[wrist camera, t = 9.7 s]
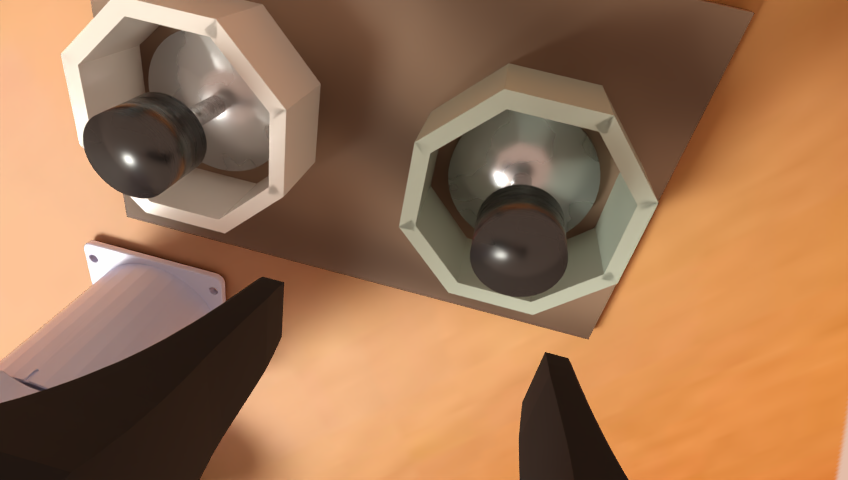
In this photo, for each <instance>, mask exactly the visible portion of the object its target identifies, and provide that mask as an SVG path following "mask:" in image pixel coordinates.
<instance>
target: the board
mask: <svg viewBox="0 0 848 480" xmlns="http://www.w3.org/2000/svg"><path fill="white" fill-rule="evenodd" d="M109 1H110V0H91V5H92V11H93V17H95V16H96V15H97V14H98V13H99V12H100V11H101V10H102V8H103V7H104V6H105V5H106V4H107V3H108V2H109ZM246 1H250V2H255V3H259V4H263V5H264V7H265V8H266V9H267V11H268V12H269V14H270V15H271V16H272V18H273V19H274V20H275V22H276V23H277V25H278V26H279V27H280V29H281V30H282V31H283V33H284V34H285V36H286V37H287V38H288V40H289V41H290V42H291V44H292V45H293V47H294V48H295V49H296V51H297V52H298V53H299V55H300V56H301V58H302V59H303V60H304V62H305V63H306V64H307V66H308V67H309V69H310V70H311V71H312V73H313V74H314V75H315V77H316V78H317V79H318V81H319V82H320V84H321V86H320V101H319V115H318V129H317V143H316V157H315V163H314V164H313V165H312V166H311V167H310V168H309V169H308V170H307V172H306V173H305V174H304V175H303V176H302V177H301V178H300V179H299V180H298V181H297V183H296V184H295V185H294V186H293V187H292V188H291V189H290V190H289V191H288V193H287V194H286V195H285V196H284V197H282V198H281V199H279V200H278V201H276V202H274V203H273V204H271V205H270V206H268V207H266V208H265V209H263V210H262V211H260V212H258V213H257V214H255V215H254V216H252V217H250V218H249V219H247V220H246V221H244V222H242V223H241V224H239V225H238V226H236V227H234V228H233V229H231V230H230V231H228V232H226V233H221V232H218V231H214V230H210V229H206V228H203V227H199V226H195V225H191V224H187V223H184V222H180V221H176V220H172V219H169V218H165V217H161V216H157V215H153V214H150V213H146V212H145V211H144V210H143V209H142V208H141V207H140V206H139V205H138V204H137V203H136V202H135V201H134V200H133V199H132V198H131V197H130V196H128V195H125V194H123V196H124V202H125V208H126V214H127V217H130V218H134V219H137V220H141V221H145V222H149V223H152V224H156V225H160V226H164V227H167V228H171V229H175V230H179V231H182V232H186V233H190V234H194V235H198V236H201V237H205V238H209V239H213V240H216V241H220V242H224V243H228V244H231V245H235V246H239V247H243V248H246V249H250V250H254V251H258V252H261V253H265V254H269V255H273V256H277V257H280V258H284V259H288V260H292V261H295V262H299V263H303V264H307V265H310V266H314V267H318V268H322V269H325V270H329V271H333V272H337V273H341V274H344V275H348V276H352V277H356V278H359V279H363V280H367V281H371V282H374V283H378V284H382V285H386V286H389V287H393V288H397V289H401V290H404V291H408V292H412V293H416V294H420V295H423V296H427V297H431V298H435V299H438V300H442V301H446V302H450V303H453V304H457V305H461V306H465V307H468V308H472V309H476V310H480V311H483V312H487V313H491V314H495V315H499V316H502V317H506V318H510V319H514V320H517V321H521V322H525V323H529V324H532V325H536V326H540V327H544V328H547V329H551V330H555V331H559V332H563V333H566V334H570V335H574V336H578V337H581V338H585V339H589V337H590V335H591V333H592V331H593V329H594V327H595V325H596V323H597V321H598V319H599V317H600V315H601V313H602V311H603V309H604V307H605V305H606V304H607V302H608V300H609V298H610V296H611V294H612V292H613V290H614V288H615V286H616V284H615V285H612V286H609V287H607V288H604V289H601V290H599V291H596V292H593V293H590V294H588V295H585V296H582V297H580V298H577V299H574V300H572V301H569V302H566V303H563V304H561V305H558V306H555V307H553V308H550V309H547V310H545V311H542V312H539V313H537V314H534V315H531V314H527V313H524V312H520V311H516V310H512V309H509V308H505V307H501V306H497V305H493V304H490V303H486V302H482V301H478V300H475V299H471V298H467V297H463V296H459V295H456V294H452V293H448V291H447V290H446V289H445V287H444V286H443V285H442V283H441V282H440V281H439V279H438V278H437V277H436V275H435V274H434V273H433V272H432V270H431V269H430V268H429V266H428V265H427V264H426V262H425V261H424V260H423V258H422V257H421V256H420V254H419V253H418V252H417V250H416V249H415V248H414V246H413V245H412V244H411V242H410V241H409V240H408V238H407V237H406V236H405V234H404V233H403V232H402V230H401V229H400V228H399V224H400V218H401V213H402V207H403V202H404V197H405V191H406V186H407V181H408V175H409V170H410V164H411V159H412V154H413V148H414V142H415V140H416V139H417V137H418V135H419V133H420V131H421V129H422V127H423V126H424V124H425V122H426V120H427V118H428V116H429V115H430V113H431V111H432V110H434V109H436V108H437V107H439V106H441V105H442V104H444V103H445V102H447V101H449V100H450V99H452V98H453V97H455V96H457V95H458V94H460V93H462V92H463V91H465V90H466V89H468V88H470V87H471V86H473V85H474V84H476V83H478V82H479V81H481V80H483V79H484V78H486V77H487V76H489V75H491V74H492V73H494V72H495V71H497V70H499V69H500V68H502V67H504V66H505V65H507V64H508V63H510V64H514V65H518V66H523V67H527V68H531V69H535V70H539V71H544V72H548V73H552V74H556V75H560V76H565V77H569V78H573V79H577V80H581V81H585V82H590V83H594V84H598V85H602V86H603V88H604V90H605V92H606V94H607V96H608V98H609V100H610V102H611V104H612V106H613V108H614V110H615V112H616V114H617V116H618V118H619V120H620V122H621V124H622V126H623V128H624V130H625V132H626V134H627V136H628V138H629V140H630V142H631V144H632V146H633V148H634V150H635V152H636V154H637V156H638V158H639V160H640V162H641V164H642V166H643V168H644V170H645V173H646V175H647V177H648V180H649V182H650V184H651V187H652V189H653V191H654V194H655V196H656V198H657V201H659V199H660V197H661V195H662V194H663V192H664V190H665V188H666V186H667V184H668V182H669V180H670V178H671V176H672V174H673V172H674V170H675V168H676V166H677V164H678V162H679V160H680V158H681V156H682V154H683V152H684V150H685V148H686V146H687V144H688V142H689V140H690V139H691V137H692V135H693V133H694V131H695V129H696V127H697V125H698V123H699V121H700V119H701V117H702V115H703V113H704V111H705V109H706V107H707V105H708V103H709V101H710V99H711V97H712V95H713V93H714V91H715V89H716V87H717V85H718V84H719V82H720V80H721V78H722V76H723V74H724V72H725V70H726V68H727V66H728V64H729V62H730V60H731V58H732V56H733V54H734V52H735V50H736V48H737V46H738V44H739V42H740V40H741V38H742V36H743V34H744V32H745V30H746V29H747V27H748V25H749V23H750V21H751V19H752V17H753V15H754V13H753V12H751V11H749V10H745V9H741V8H736V7H732V6H728V5H723V4H719V3H714V2H710V1H706V0H246ZM178 31H181V30H180V29H175V28H171V27H167V26H163V25H160V26H159V27H158V28H157V29H156V30H155V31H154V32H153V33H152V34H150V35H149V36H148V37H147V38H146V39H145V40H144V41H143V42H142V43H141V44H140V45H139V46H140V54H141V62H142V70H143V78H144V86H145V93H147V92H149V82H148V76H149V67H150V63H151V60H152V57H153V55H154V53H155V51H156V49H157V48H158V46H159V45H160V44H161V43H162V42H163V40H165V39H166V38H167V37H169V36H170V35H172V34H174V33H175V32H178ZM581 128H582V127H581ZM582 129H583V130H584V131H585V132H586V133H587V135H588V136H589V138H590V140H591V141H592V143H593V145H594V148H595V150H596V153H597V157H598V160H599V165H600V185H599V191H598V194H597V197H596V200H595V202H594V204H593V205H592V207H591V209H590V210H589V212H588V213H587V215H586V216H585V217H584V218H583V219H582V220H581V222H580V223H578V224H577V225H576V226H575V227H574V228H572V229H571V230H569V231H568V232H566V240H567V239H570V238H572V237H574V236H577V235H579V234H581V233H584V232H586V231H588V230H591V229H593V228H595V227H596V224H597V222H598V220H599V218H600V215H601V213H602V211H603V209H604V206H605V204H606V202H607V200H608V197H609V195H610V193H611V191H612V188H613V186H614V184H615V182H616V179H617V177H618V175H619V173H620V171H619V169H618V167H617V165H616V163H615V161H614V159H613V157H612V156H611V154H610V152H609V150H608V148H607V146H606V144H605V142H604V140H603V138H602V136H601V135H600V133H599V132H598V131H594V130H590V129H586V128H582ZM461 137H462V135H461V136H459V137H458V138H456V139H454V140H452V141H451V142H449V143H447V144H445V145H444V146H442V147H440V148H439V150H438V155H437V159H436V164H435V169H434V173H433V178H432V182H431V187H432V188H433V190H434V191H435V193H436V194H437V196H438V197H439V198H440V200H441V201H442V203H443V204H444V206H445V207H446V208H447V210H448V211H449V213H450V214H451V216H452V217H453V218H454V220H455V221H456V223H457V224H458V226H459V227H460V229H461V230H462V231H463V233H464V234H465V236H466V237H467V238H469V239H473V234H474V228H473V227H472V226H471V225H470V224H469V223H468V222H466V221H465V220H464V218H463V217H462V216H461V214H460V213H459V212H458V210H457V208H456V207H455V205H454V202H453V200H452V198H451V194H450V190H449V183H448V171H449V165H450V161H451V157H452V154H453V151H454V149H455V147H456V145H457V143H458V141H459V140H460V138H461ZM196 168H198V169H202V170H206V171H210V172H214V173H218V174H221V175H225V176H229V177H233V178H237V179H241V180H245V181H248V182H252V183H256V184H257V183H258V182H260V181H261V180H263V179H264V178H266V177H267V176H269V160H268V161H266V162H265V163H264V164H262V165H260V166H258V167H256V168H253V169H250V170H245V171H226V170H221V169H217V168H214V167H211V166H209V165H207V164H204V163H201V164H200V165H199V166H198V167H196Z"/></svg>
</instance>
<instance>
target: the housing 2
mask: <svg viewBox="0 0 848 480" xmlns="http://www.w3.org/2000/svg"><path fill="white" fill-rule="evenodd" d="M506 109H508V110H512V111H516V112H520V113H524V114H528V115H533V116H537V117H541V118H545V119H549V120H553V121H557V122H561V123H565V124H569V125H574V126H578V127H582V128H586V129H590V130H594V131H598V132H599V133H600V135H601V136H602V138H603V140H604V142H605V144H606V146H607V148H608V150H609V152H610V154H611V156H612V157H613V159H614V161H615V163H616V165H617V167H618V169H619V171H620V173H619V175H618V177H617V179H616V182H615V184H614V186H613V188H612V191H611V193H610V195H609V197H608V200H607V202H606V204H605V206H604V209H603V211H602V213H601V215H600V218H599V220H598V222H597V224H596V227H595V228H593V229H591V230H588V231H586V232H584V233H581V234H579V235H577V236H574V237H572V238H570V239H567V250H568V263H567V268H566V271H565V273H564V275H563V276H562V278H561V279H560V280H559V281H558V282H557V284H555V285H554V286H553V287H552V288H550V289H549V290H547V291H545V292H543V293H540V294H537V295H534V296H528V297H512V296H507V295H503V294H500V293H497V292H495V291H493V290H491V289H490V288H488V287H487V286H486V285H484V284H483V283H482V282H481V281H480V280H479V279H478V277H477V276H476V274H475V273H474V271H473V269H472V266H471V262H470V250H471V245H472V240H473V239H469V238H467V237H466V236H465V234H464V233H463V231H462V230H461V229H460V227H459V226H458V224H457V223H456V221H455V220H454V218H453V217H452V216H451V214H450V213H449V211H448V210H447V208H446V207H445V206H444V204H443V203H442V201H441V200H440V198H439V197H438V196H437V194H436V193H435V191H434V190H433V188H432V187H431V182H432V178H433V173H434V169H435V164H436V159H437V155H438V150H439V148H440V147H442V146H444V145H445V144H447V143H449V142H451V141H452V140H454V139H456V138H458V137H459V136H461V135H463V134H465V133H466V132H468V131H470V130H472V129H473V128H475V127H477V126H478V125H480V124H482V123H484V122H485V121H487V120H489V119H491V118H492V117H494V116H496V115H498V114H499V113H501V112H503V111H504V110H506ZM658 204H659V203H658V201H657V198H656V196H655V194H654V191H653V189H652V187H651V184H650V182H649V180H648V177H647V175H646V173H645V170H644V168H643V166H642V164H641V162H640V160H639V158H638V156H637V154H636V152H635V150H634V148H633V146H632V144H631V142H630V140H629V138H628V136H627V134H626V132H625V130H624V128H623V126H622V124H621V122H620V120H619V118H618V116H617V114H616V112H615V110H614V108H613V106H612V104H611V102H610V100H609V98H608V96H607V94H606V92H605V90H604V88H603V86H602V85H598V84H594V83H590V82H585V81H581V80H577V79H573V78H569V77H565V76H560V75H556V74H552V73H548V72H544V71H539V70H535V69H531V68H527V67H523V66H518V65H514V64H510V63H508V64H507V65H505V66H504V67H502V68H500V69H499V70H497V71H495V72H494V73H492V74H491V75H489V76H487V77H486V78H484V79H483V80H481V81H479V82H478V83H476V84H474V85H473V86H471V87H470V88H468V89H466V90H465V91H463V92H462V93H460V94H458V95H457V96H455V97H453V98H452V99H450V100H449V101H447V102H445V103H444V104H442V105H441V106H439V107H437V108H436V109H434V110H432V111H431V113H430V115H429V116H428V118H427V120H426V122H425V124H424V126H423V127H422V129H421V131H420V133H419V135H418V137H417V139H416V140H415V142H414V148H413V154H412V159H411V164H410V170H409V175H408V181H407V186H406V191H405V197H404V202H403V207H402V213H401V218H400V224H399V228H400V229H401V230H402V232H403V233H404V234H405V236H406V237H407V238H408V240H409V241H410V242H411V244H412V245H413V246H414V248H415V249H416V250H417V252H418V253H419V254H420V256H421V257H422V258H423V260H424V261H425V262H426V264H427V265H428V266H429V268H430V269H431V270H432V272H433V273H434V274H435V275H436V277H437V278H438V279H439V281H440V282H441V283H442V285H443V286H444V287H445V289H446V290H447V291H448V293H452V294H456V295H459V296H463V297H467V298H471V299H475V300H478V301H482V302H486V303H490V304H493V305H497V306H501V307H505V308H509V309H512V310H516V311H520V312H524V313H527V314H531V315H534V314H537V313H539V312H542V311H545V310H547V309H550V308H553V307H555V306H558V305H561V304H563V303H566V302H569V301H572V300H574V299H577V298H580V297H582V296H585V295H588V294H590V293H593V292H596V291H599V290H601V289H604V288H607V287H609V286H612V285H615V284H618V282H619V280H620V278H621V276H622V274H623V272H624V270H625V268H626V266H627V264H628V262H629V260H630V258H631V256H632V254H633V252H634V250H635V248H636V246H637V244H638V242H639V240H640V238H641V236H642V235H643V233H644V231H645V229H646V227H647V225H648V223H649V221H650V219H651V217H652V215H653V213H654V211H655V209H656V207H657V205H658Z"/></svg>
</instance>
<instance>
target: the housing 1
mask: <svg viewBox="0 0 848 480" xmlns="http://www.w3.org/2000/svg"><path fill="white" fill-rule="evenodd" d="M160 25H163V26H167V27H171V28H175V29H180V30H184V31H188V32H192V33H196V34H200V35H204V36H208V37H210V38H211V39H212V40H213V42H214V43H215V44H216V46H217V47H218V48H219V49H220V51H221V52H222V53H223V54H224V56H225V57H226V58H227V60H228V61H229V62H230V63H231V65H232V66H233V67H234V68H235V70H236V71H237V72H238V73H239V75H240V76H241V77H242V79H243V80H244V81H245V82H246V84H247V85H248V86H249V87H250V89H251V90H252V91H253V93H254V94H255V95H256V96H257V98H258V99H259V100H260V101H261V103H262V104H263V105H264V106H265V108H266V109H267V110H268V112H269V113H270V126H269V176H267V177H266V178H264V179H263V180H261V181H260V182H258V183H257V184H256V183H252V182H248V181H245V180H241V179H237V178H233V177H229V176H225V175H221V174H218V173H214V172H210V171H206V170H202V169H198V168H195V169H194V170H192V171H191V172H190V173H188V174H187V175H186V176H184V177H183V178H181V179H180V180H179V181H177V182H176V183H175V184H173V185H172V186H171V187H169V188H168V189H167V190H165V191H164V192H162V193H161V194H159V195H158V196H156V197H153V198H147V199H141V198H135V197H131V196H130V197H131V198H132V199H133V200H134V201H135V202H136V203H137V204H138V205H139V206H140V207H141V208H142V209H143V210H144V211H145V212H146V213H150V214H153V215H157V216H161V217H165V218H169V219H172V220H176V221H180V222H184V223H187V224H191V225H195V226H199V227H203V228H206V229H210V230H214V231H218V232H221V233H226V232H228V231H230V230H231V229H233V228H234V227H236V226H238V225H239V224H241V223H242V222H244V221H246V220H247V219H249V218H250V217H252V216H254V215H255V214H257V213H258V212H260V211H262V210H263V209H265V208H266V207H268V206H270V205H271V204H273V203H274V202H276V201H278V200H279V199H281V198H282V197H284V196H285V195H286V194H287V193H288V191H289V190H290V189H291V188H292V187H293V186H294V185H295V184H296V183H297V181H298V180H299V179H300V178H301V177H302V176H303V175H304V174H305V173H306V172H307V170H308V169H309V168H310V167H311V166H312V165H313V164H314V163H315V157H316V143H317V129H318V115H319V101H320V86H321V84H320V82H319V81H318V79H317V78H316V77H315V75H314V74H313V73H312V71H311V70H310V69H309V67H308V66H307V64H306V63H305V62H304V60H303V59H302V58H301V56H300V55H299V53H298V52H297V51H296V49H295V48H294V47H293V45H292V44H291V42H290V41H289V40H288V38H287V37H286V36H285V34H284V33H283V31H282V30H281V29H280V27H279V26H278V25H277V23H276V22H275V20H274V19H273V18H272V16H271V15H270V14H269V12H268V11H267V9H266V8H265V7H264V5H263V4H259V3H255V2H250V1H246V0H110V1H109V2H108V3H107V4H106V5H105V6H104V7H103V8H102V10H101V11H100V12H99V13H98V14H97V15H96V16H95V17H94V18H93V19H92V21H91V22H90V23H89V24H88V25H87V26H86V27H85V28H84V29H83V30H82V31H81V33H80V34H79V35H78V36H77V37H76V38H75V39H74V40H73V41H72V42H71V43H70V45H69V46H68V47H67V48H66V49H65V50H64V51H63V52H62V53H61V58H62V62H63V67H64V72H65V77H66V81H67V86H68V91H69V96H70V100H71V105H72V110H73V115H74V120H75V124H76V129H77V134H78V139H79V143H80V145H81V146H82V147H83V148H84V145H83V131H84V128H85V125H86V124H87V122H88V121H89V120H90V119H91V118H92V117H93V116H95V115H97V114H99V113H101V112H103V111H106V110H108V109H110V108H112V107H115V106H117V105H119V104H121V103H124V102H126V101H128V100H130V99H133V98H135V97H137V96H139V95H141V94H144V93H145V86H144V78H143V70H142V62H141V54H140V46H139V45H140V44H141V43H142V42H143V41H144V40H145V39H146V38H147V37H148V36H149V35H150V34H152V33H153V32H154V31H155V30H156V29H157V28H158V27H159V26H160Z"/></svg>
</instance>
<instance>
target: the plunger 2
mask: <svg viewBox="0 0 848 480" xmlns="http://www.w3.org/2000/svg"><path fill="white" fill-rule="evenodd" d="M448 183H449V190H450V194H451V198H452V200H453V202H454V205H455V207H456V208H457V210H458V212H459V213H460V214H461V216H462V217H463V218H464V220H465V221H466V222H468V223H469V224H470V225H471V226H472V227H473V228H474V234H473V240H472V245H471V250H470V262H471V266H472V269H473V271H474V273H475V274H476V276H477V277H478V279H479V280H480V281H481V282H482V283H483V284H484V285H486V286H487V287H488V288H490V289H491V290H493V291H495V292H497V293H500V294H503V295H507V296H512V297H528V296H534V295H537V294H540V293H543V292H545V291H547V290H549V289H550V288H552V287H553V286H554V285H555V284H557V282H558V281H559V280H560V279H561V278H562V276H563V275H564V273H565V271H566V268H567V263H568V250H567V240H566V232H568V231H569V230H571V229H572V228H574V227H575V226H576V225H577V224H578V223H580V222H581V220H582V219H583V218H584V217H585V216H586V215H587V213H588V212H589V210H590V209H591V207H592V205H593V204H594V202H595V200H596V197H597V194H598V191H599V185H600V165H599V160H598V157H597V153H596V150H595V148H594V145H593V143H592V141H591V140H590V138H589V136H588V135H587V133H586V132H585V131H584V130H583V129H582V128H581V127H578V126H574V125H569V124H565V123H561V122H557V121H553V120H549V119H545V118H541V117H537V116H533V115H528V114H524V113H520V112H516V111H512V110H508V109H506V110H504V111H503V112H501V113H499V114H498V115H496V116H494V117H492V118H491V119H489V120H487V121H485V122H484V123H482V124H480V125H478V126H477V127H475V128H473V129H472V130H470V131H468V132H466V133H465V134H463V135H462V137H461V138H460V140H459V141H458V143H457V145H456V147H455V149H454V151H453V154H452V157H451V161H450V165H449V171H448Z"/></svg>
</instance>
